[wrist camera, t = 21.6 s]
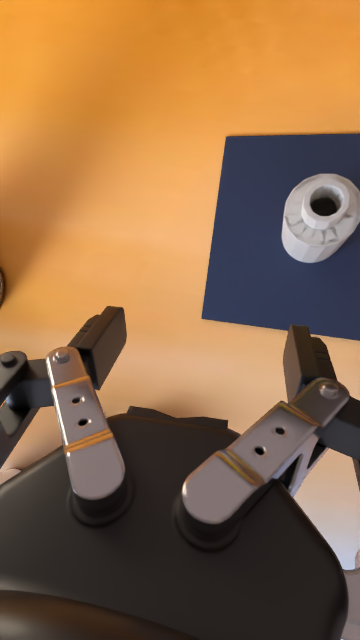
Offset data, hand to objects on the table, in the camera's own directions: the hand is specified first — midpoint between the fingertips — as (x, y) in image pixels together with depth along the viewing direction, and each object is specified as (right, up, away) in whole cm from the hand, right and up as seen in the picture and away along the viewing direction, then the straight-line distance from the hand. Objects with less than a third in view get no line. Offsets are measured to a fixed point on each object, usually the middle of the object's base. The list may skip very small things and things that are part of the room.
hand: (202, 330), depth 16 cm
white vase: (+12, +9, +17) cm, 23 cm away
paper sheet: (+12, +9, +17) cm, 23 cm away
